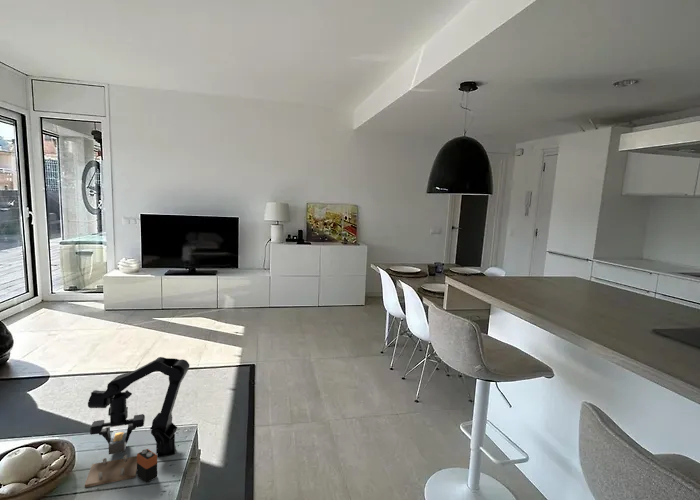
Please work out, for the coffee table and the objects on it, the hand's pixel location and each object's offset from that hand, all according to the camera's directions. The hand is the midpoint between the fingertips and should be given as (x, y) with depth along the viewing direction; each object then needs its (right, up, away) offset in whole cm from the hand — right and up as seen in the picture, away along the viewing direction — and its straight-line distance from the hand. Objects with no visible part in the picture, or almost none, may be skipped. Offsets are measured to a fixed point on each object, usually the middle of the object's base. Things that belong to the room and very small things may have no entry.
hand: (118, 443), depth 158 cm
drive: (0, -1, 0) cm, 1 cm away
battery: (+19, -6, -13) cm, 24 cm away
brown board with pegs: (+5, -5, -11) cm, 13 cm away
